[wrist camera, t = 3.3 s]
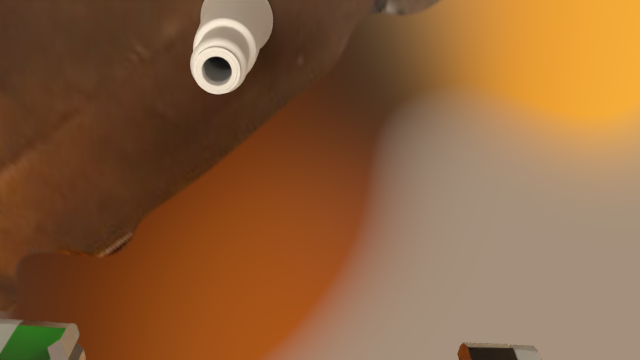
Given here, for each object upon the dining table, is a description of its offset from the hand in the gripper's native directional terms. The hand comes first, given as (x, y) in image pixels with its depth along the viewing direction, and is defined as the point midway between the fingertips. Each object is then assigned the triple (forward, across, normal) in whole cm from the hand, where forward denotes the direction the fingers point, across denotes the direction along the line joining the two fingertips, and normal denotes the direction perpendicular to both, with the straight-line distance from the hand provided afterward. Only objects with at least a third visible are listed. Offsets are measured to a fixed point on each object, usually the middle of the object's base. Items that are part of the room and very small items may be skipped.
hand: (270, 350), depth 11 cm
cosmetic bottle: (+38, -6, -5) cm, 39 cm away
